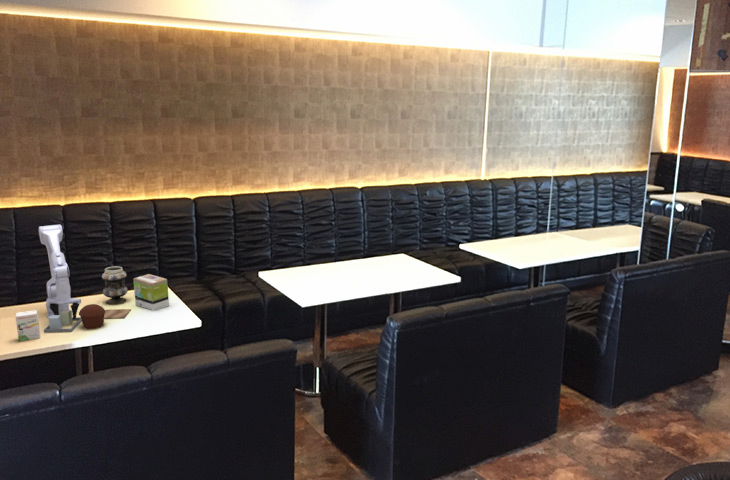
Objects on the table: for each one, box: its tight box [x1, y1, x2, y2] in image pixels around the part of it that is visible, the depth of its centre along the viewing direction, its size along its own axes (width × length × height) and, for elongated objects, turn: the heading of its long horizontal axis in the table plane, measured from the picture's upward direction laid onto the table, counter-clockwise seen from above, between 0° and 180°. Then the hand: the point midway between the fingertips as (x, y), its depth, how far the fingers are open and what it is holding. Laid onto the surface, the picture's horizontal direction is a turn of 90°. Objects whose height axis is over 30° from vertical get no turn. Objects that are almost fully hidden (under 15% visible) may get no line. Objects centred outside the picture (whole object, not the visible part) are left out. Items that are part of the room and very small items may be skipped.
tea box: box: [132, 273, 170, 312], centre depth 323 cm, size 15×10×15 cm
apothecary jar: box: [101, 265, 129, 306], centre depth 329 cm, size 12×12×18 cm
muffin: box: [78, 303, 106, 330], centre depth 296 cm, size 12×11×10 cm
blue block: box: [47, 315, 63, 329], centre depth 292 cm, size 4×4×6 cm
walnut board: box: [104, 308, 132, 320], centre depth 312 cm, size 12×12×1 cm
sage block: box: [59, 309, 74, 326], centre depth 299 cm, size 4×4×6 cm
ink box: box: [15, 309, 41, 342], centre depth 281 cm, size 8×5×12 cm, turn 119°
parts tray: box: [43, 316, 82, 334], centre depth 296 cm, size 12×15×2 cm
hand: (66, 318), depth 299 cm, fingers open, 7 cm apart
